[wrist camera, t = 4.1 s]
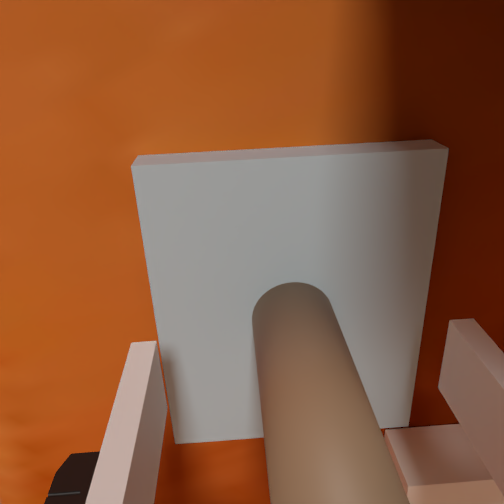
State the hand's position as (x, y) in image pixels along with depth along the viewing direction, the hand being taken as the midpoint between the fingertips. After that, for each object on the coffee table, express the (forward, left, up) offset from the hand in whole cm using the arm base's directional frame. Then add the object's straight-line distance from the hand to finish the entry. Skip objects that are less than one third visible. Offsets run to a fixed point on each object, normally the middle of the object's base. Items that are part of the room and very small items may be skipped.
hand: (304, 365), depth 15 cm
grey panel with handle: (0, 0, -4) cm, 4 cm away
